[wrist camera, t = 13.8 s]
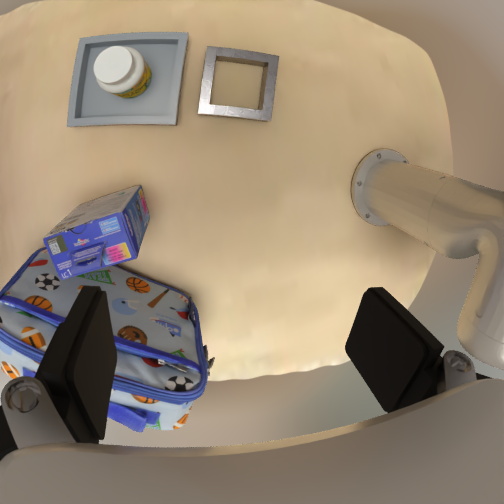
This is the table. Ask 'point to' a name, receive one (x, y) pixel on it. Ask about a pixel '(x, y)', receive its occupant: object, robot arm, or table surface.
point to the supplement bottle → (122, 72)
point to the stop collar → (246, 58)
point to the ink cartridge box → (99, 233)
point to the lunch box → (125, 335)
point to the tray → (135, 109)
